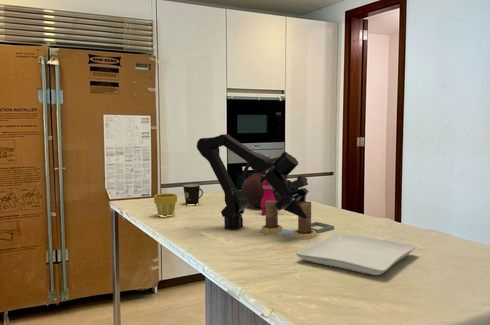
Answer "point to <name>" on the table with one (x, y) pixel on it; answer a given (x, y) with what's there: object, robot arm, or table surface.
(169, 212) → the plant pot
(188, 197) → the coffee mug
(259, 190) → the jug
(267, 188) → the pink bowling pin
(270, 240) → the table surface
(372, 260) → the square plate
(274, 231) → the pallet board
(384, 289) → the table surface
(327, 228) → the gray square tray
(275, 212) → the cylinder
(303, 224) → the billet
